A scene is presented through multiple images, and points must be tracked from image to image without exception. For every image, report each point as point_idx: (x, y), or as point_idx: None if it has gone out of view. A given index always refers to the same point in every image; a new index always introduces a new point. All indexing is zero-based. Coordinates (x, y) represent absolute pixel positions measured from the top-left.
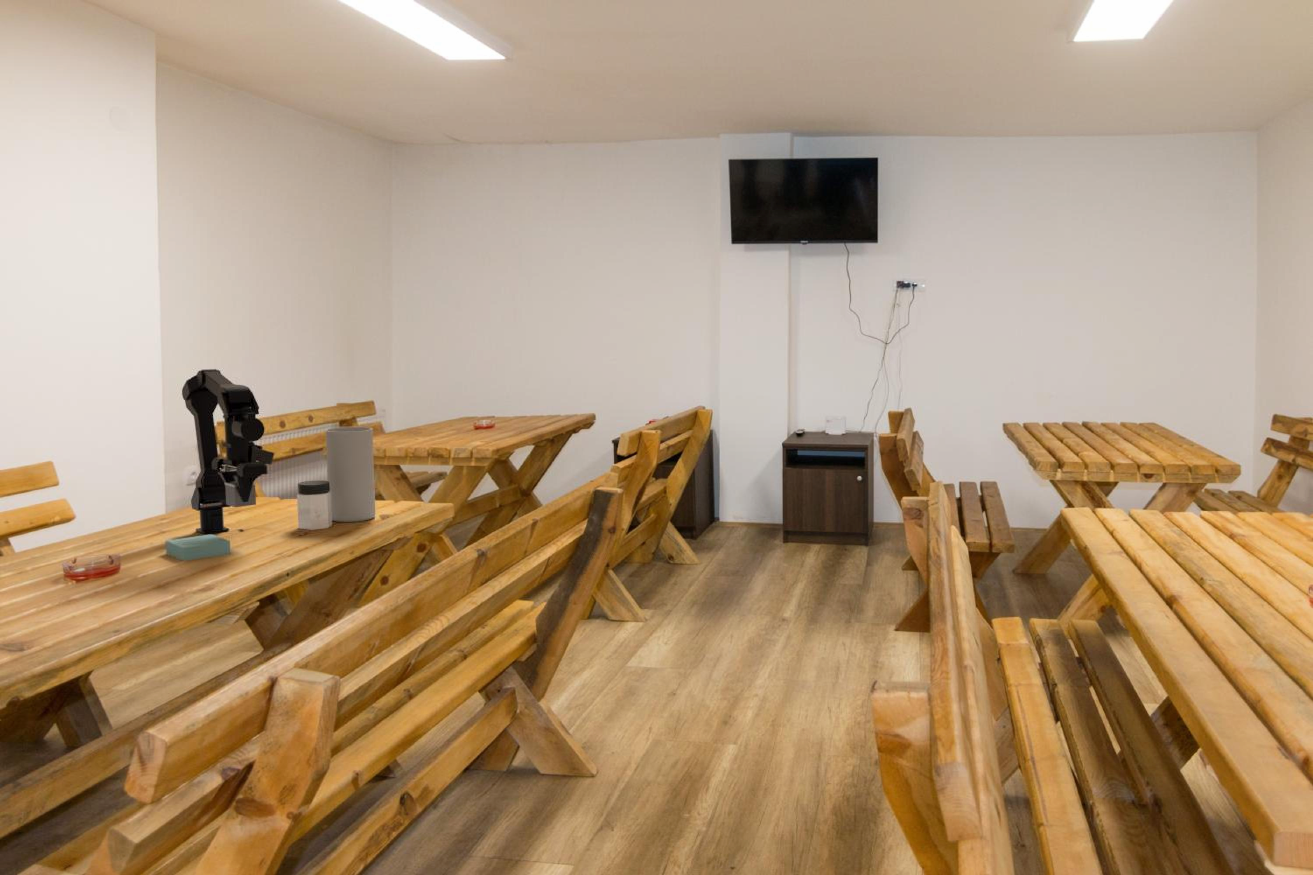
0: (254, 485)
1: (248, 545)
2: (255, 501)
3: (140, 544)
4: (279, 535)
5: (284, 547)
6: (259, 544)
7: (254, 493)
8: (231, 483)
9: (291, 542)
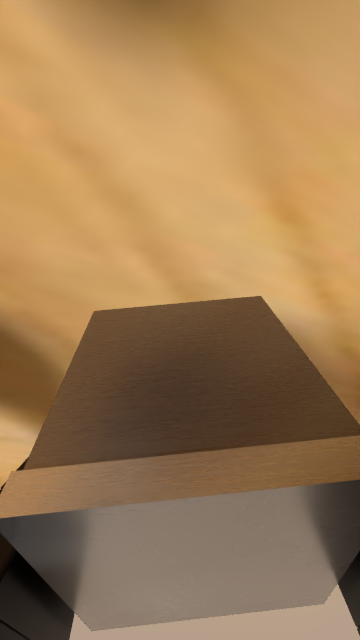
0: (356, 432)
1: (202, 262)
2: (268, 310)
3: (7, 454)
4: (71, 45)
5: (345, 164)
6: (215, 224)
7: (301, 359)
8: (220, 610)
9: (284, 81)
